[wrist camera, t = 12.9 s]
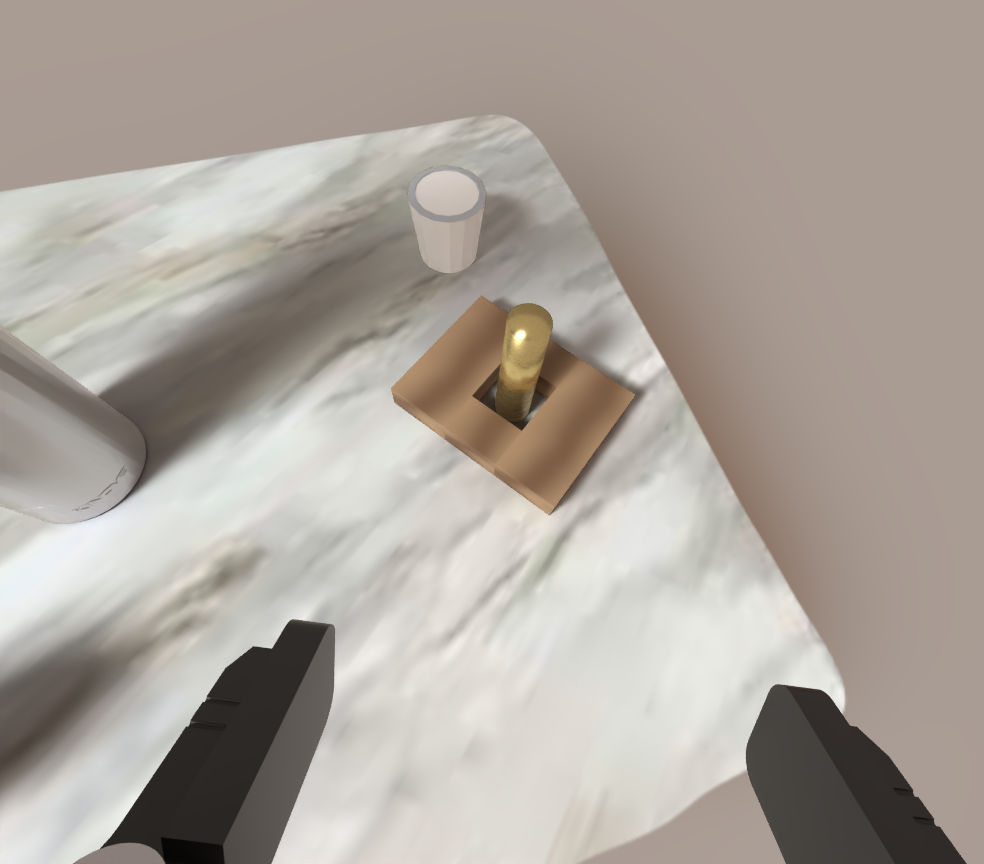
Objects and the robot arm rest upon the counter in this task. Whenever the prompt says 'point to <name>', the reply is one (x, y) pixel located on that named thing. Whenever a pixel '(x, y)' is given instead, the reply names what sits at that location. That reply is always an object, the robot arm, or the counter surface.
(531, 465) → the block
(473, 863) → the counter surface
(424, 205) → the shot glass
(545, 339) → the peg
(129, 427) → the robot arm
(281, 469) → the counter surface
